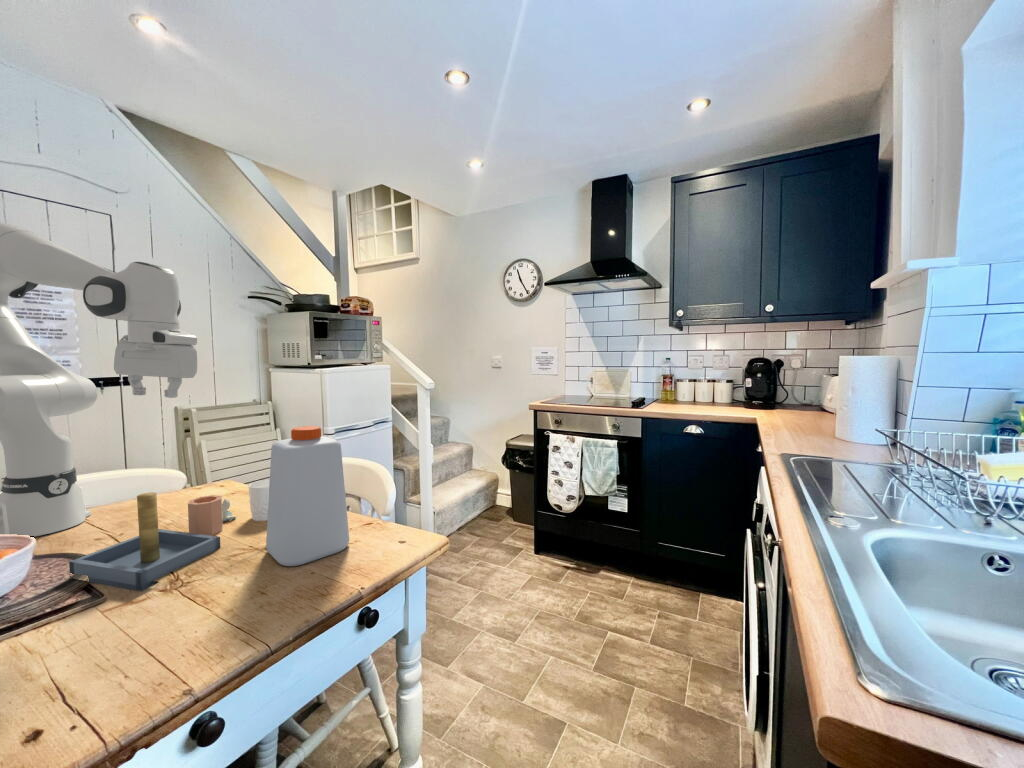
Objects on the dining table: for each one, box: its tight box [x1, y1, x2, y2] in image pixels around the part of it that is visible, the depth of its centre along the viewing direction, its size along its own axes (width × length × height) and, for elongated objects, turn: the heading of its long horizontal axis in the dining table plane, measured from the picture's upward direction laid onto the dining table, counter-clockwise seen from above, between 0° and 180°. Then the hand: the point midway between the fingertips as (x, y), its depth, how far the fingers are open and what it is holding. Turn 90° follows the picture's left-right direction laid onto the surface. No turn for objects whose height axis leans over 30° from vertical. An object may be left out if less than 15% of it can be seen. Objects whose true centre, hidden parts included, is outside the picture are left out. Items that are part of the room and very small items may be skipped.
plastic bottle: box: [265, 425, 350, 567], centre depth 92 cm, size 15×15×28 cm
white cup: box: [248, 478, 270, 522], centre depth 109 cm, size 8×8×10 cm
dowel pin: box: [136, 491, 160, 563], centre depth 84 cm, size 3×3×14 cm
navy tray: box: [68, 528, 221, 592], centre depth 85 cm, size 18×16×4 cm
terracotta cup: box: [187, 494, 224, 536], centre depth 99 cm, size 6×6×9 cm
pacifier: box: [222, 498, 237, 523], centre depth 106 cm, size 7×6×6 cm
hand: (155, 396), depth 93 cm, fingers open, 8 cm apart
